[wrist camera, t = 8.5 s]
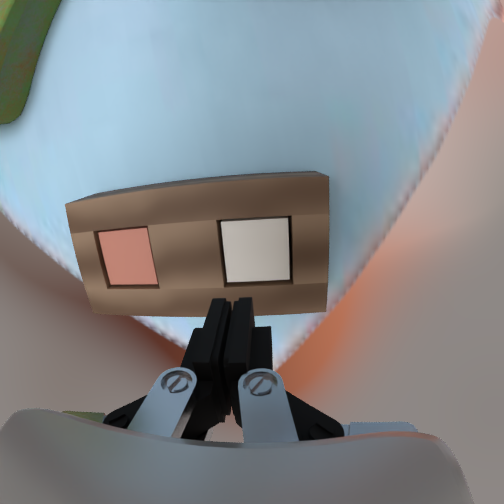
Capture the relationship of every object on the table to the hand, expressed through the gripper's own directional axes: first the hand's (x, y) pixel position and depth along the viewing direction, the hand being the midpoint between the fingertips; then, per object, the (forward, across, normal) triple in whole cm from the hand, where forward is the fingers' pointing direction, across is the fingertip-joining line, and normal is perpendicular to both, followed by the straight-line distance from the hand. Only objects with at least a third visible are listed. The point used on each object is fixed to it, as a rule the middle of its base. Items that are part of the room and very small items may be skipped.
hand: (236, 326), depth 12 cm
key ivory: (+16, 0, +1) cm, 16 cm away
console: (+18, +6, +1) cm, 18 cm away
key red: (+16, +12, +1) cm, 20 cm away
